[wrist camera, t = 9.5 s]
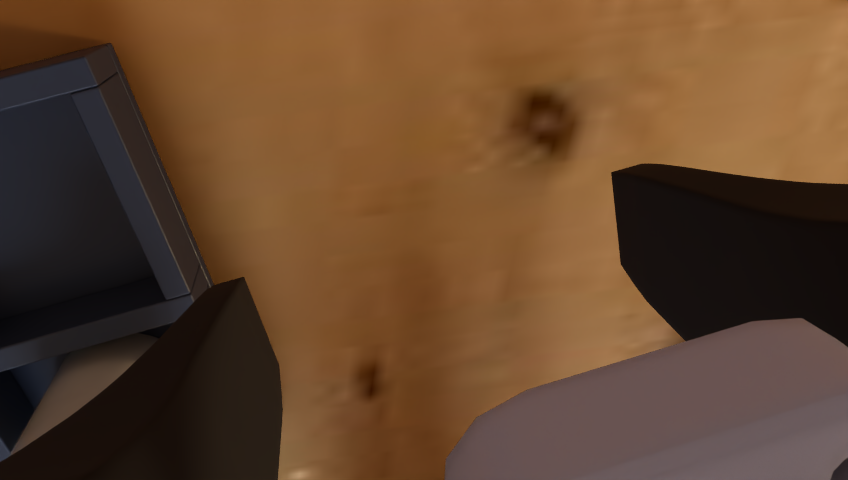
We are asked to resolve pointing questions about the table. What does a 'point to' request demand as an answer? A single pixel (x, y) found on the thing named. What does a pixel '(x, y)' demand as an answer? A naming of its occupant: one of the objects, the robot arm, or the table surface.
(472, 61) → the table surface
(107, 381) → the cream cup
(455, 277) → the table surface
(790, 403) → the robot arm
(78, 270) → the cup holder
